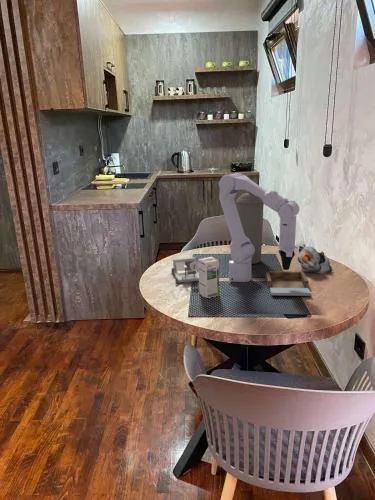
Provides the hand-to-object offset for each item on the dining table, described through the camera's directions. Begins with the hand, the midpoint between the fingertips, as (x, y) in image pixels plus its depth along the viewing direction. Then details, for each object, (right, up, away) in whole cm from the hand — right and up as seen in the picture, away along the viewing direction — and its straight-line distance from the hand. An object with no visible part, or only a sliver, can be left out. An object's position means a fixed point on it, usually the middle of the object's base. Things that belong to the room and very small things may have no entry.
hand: (285, 269), depth 145 cm
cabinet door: (+1, -8, 0) cm, 8 cm away
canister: (-8, +2, +38) cm, 39 cm away
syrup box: (-29, -10, +1) cm, 31 cm away
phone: (-2, -13, -12) cm, 18 cm away
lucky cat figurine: (+18, -2, +21) cm, 28 cm away
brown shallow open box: (+2, -7, +7) cm, 10 cm away
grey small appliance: (-37, -5, +19) cm, 42 cm away
